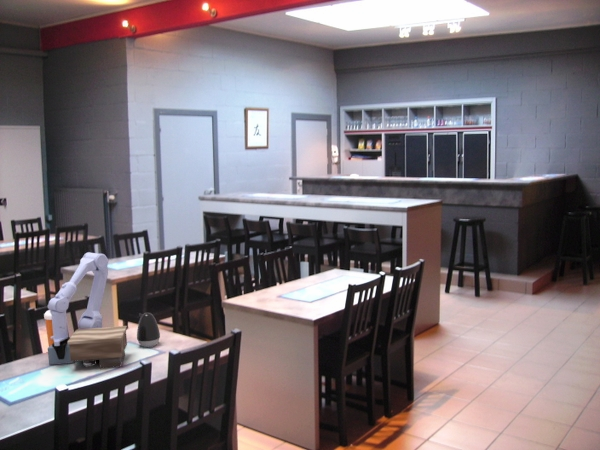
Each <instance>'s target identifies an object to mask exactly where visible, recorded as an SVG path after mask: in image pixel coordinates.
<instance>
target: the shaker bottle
mask: <svg viewBox="0 0 600 450" xmlns="http://www.w3.org/2000/svg"><path fill="white" fill-rule="evenodd" d="M43 317H44V318H43V319H44V321H45V328H46V329H45V330H46V335H47V336H46V337H47V343H48V347H49V346H50V345H52V344H53V343H54V340H53V339H51V336H53V326H52V315H51V311H50V310H49V309H48V310H46V311H45V313H43Z"/></svg>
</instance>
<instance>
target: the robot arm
mask: <svg viewBox="0 0 600 450" xmlns="http://www.w3.org/2000/svg"><path fill="white" fill-rule="evenodd" d="M79 260H80V262H79V265H78V266H77V269H76V270H75V271H74V273H73V274H72V276H71V278H70V279H69V281H68V282H64V283H62V285H61V287H60V289H59V291H58V292H57V293H56V294H55V295H54V297H52V298H51V299H50V300H49V301H48V304H47V309H48V310H50V311H51V315H52V326H53V336H51V339H53V340H54V343H53V344H52V347H53V348H54V349H55V351H56V354H57V357H58V359H59V360H60V359H64V356H65V347H66V344H68V343H67V342H68V340H69V339H70V338H71V336H70V337H69V333H68V332H69V330H68V320H67V311H68V309H69V306H70V301H71V299H72V298H73V296H74V295H75V293H76V292H77V290H78V288H77V286H78V284H80V282H81V281H82V280H83V279H84V277H85V275H87V273H88V272H92V273H93V280H92V285H91V289H90V292H89V293H90V294H89V298H88V301H87V308H86V310H85V311H83V312H82V314H81V316H80V319H79V320H78V323H77V327H78V328H77V329H91V328H103V326H104V325H103V315H102V314H101V313H100V310H101V307H102V303H103V298H104V293H105V289H106V284H107V280H108V275H109V268H108V267H109V266H108V264H109V261H110V260H109V259H108V257H107V256H106V254H104V253H96V252H90V251H88V252H86V253H84V255H83V256H82V258H81V259H79Z"/></svg>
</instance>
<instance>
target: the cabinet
mask: <svg viewBox="0 0 600 450" xmlns="http://www.w3.org/2000/svg"><path fill="white" fill-rule="evenodd" d="M127 330H128V325H122V326H109V327H106V326H105V327H102V328H91V329H79V328H77V329H76V330H75V331H74V332H73V334H72V335H71V336H70V339H69V340H68V342H67V343H68V345H69V347H70V359H71V361H75V362H78V361H77V360H89V359H99V361H98V362H99V369H112V368H120V367H122V364H123V361H124V359H125V356H126V355H125V354H126V352H125V351H126V348H127V346H128V342H127V340H128V339H127Z"/></svg>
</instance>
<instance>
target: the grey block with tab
mask: <svg viewBox="0 0 600 450" xmlns="http://www.w3.org/2000/svg"><path fill="white" fill-rule="evenodd" d="M47 356H48V365H49V366H51V365H60V364H61V365H63V364H75V362H83V361H84V360H77V361H71V359H70V347H69V345H68V344H66V347H65V356H64V359H60V360H59V359H58V357H57V354H56V351H55V349H54V348H53V347H52V345H50V346H49V345H48V346H47ZM95 360H99V359H95Z"/></svg>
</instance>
